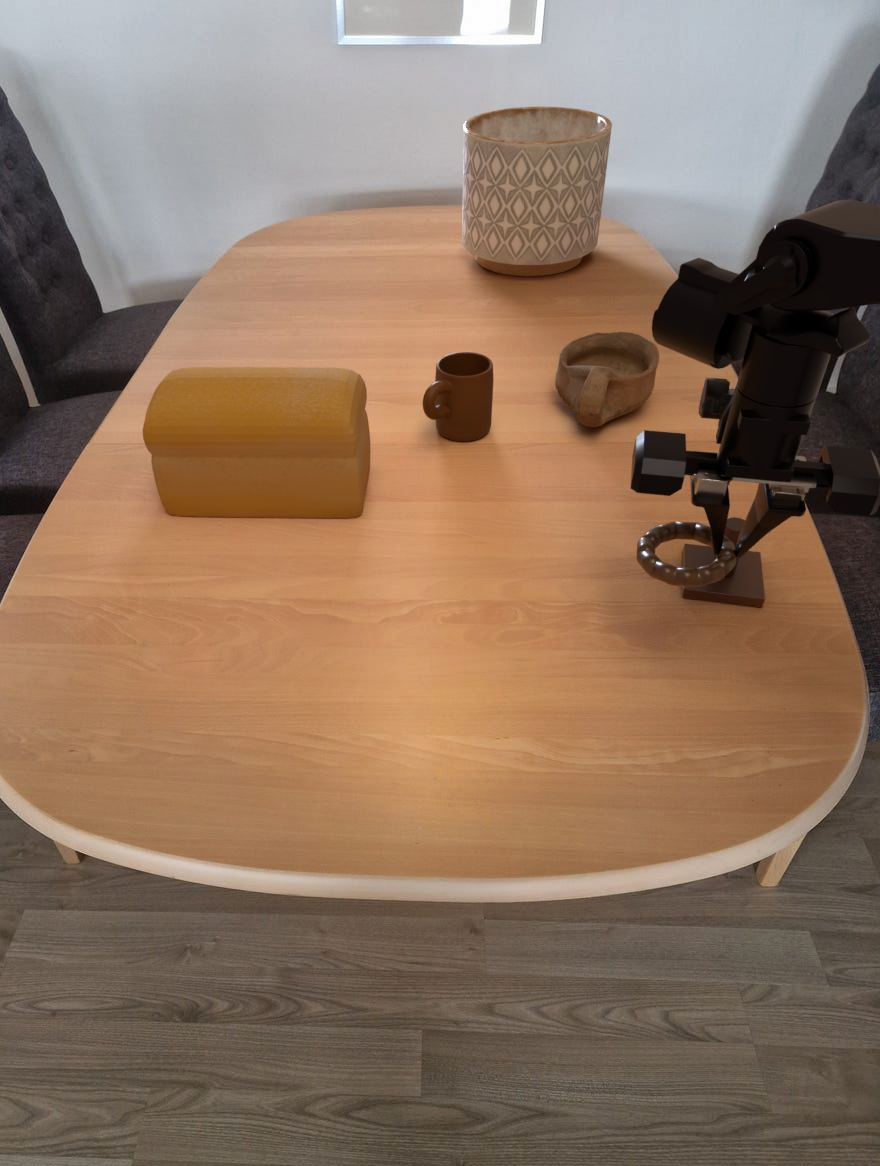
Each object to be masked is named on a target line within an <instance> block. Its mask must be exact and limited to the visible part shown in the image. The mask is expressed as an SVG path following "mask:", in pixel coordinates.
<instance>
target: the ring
mask: <svg viewBox="0 0 880 1166" xmlns="http://www.w3.org/2000/svg"><path fill="white" fill-rule="evenodd" d="M674 540H688V541H695V542H698V543H700V544H704V545H705V546H709V547H710V548H712V549H713V545H712V536H711V528H710V525H706V524H704V523H701V522H698V521H697V522H696V521H671V522H666V523H663V524H659V525H656V526H653V527H652V528H650V529H649V530H648V531H646V532H645V534H643V535H642V536H641V537H640V538H639V539H638V540H637V543H636V555H635V556H636V557H635V559H636V562H637V563H638V565H639V566H640V567H641V569H642V570H644V572H645V573H646V574H647V575H648V576H649V577H650V578H652V579H655V580H657V581H660V582H662V583H665V584H667V585H669V586H675V587H682V586H688V587H700V586H703V585H707V584H710V583H713V582H717V581H720V580H722V579H723V578H724V577H725V576H726V575H727V574H728V573H729V572H730V571H731V570H732V569H733V567H734V566H735V564H736V554H735V545H734V544H733V542H732V541H730V540H729V539H728V538H727V537H726V536H725V535H724V540H723V545H722V548H721V550H720V553H719V555H716V559H715V560H714V561H713V562H712V563H711V564H709V565H706V566H702V567H699V568H682V567H681V566H680V567H677V566H675V565H672V564H670V563H668V562H664V561H663V560H661V558H660V557H659V556H658V555H657V554H656V549H657V548H658V547H659V546H660V545H661V544H664V543H666V542H670V541H674Z"/></svg>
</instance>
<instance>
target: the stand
mask: <svg viewBox="0 0 880 1166" xmlns="http://www.w3.org/2000/svg"><path fill="white" fill-rule="evenodd" d="M745 520H746V519H744V518H741V517H734V516H733V517H728V518H727V524H726V529H725V536H726V537H727V538H728V539H729V540H730V541H732V542H733V544H734V545H735V548H736V544H737V541H738V537H739V534H740V532H741V529H742V527H743V525H744V522H745ZM681 554H682V555H681V558H682V559H681V565H682V566H681V568H699V567H702V566H706V565H709V564H711V563H712V562H713V561H714V560H715V559H716V555H714V554H713V549H712V548H710V547H709V546H708V545H701V544H692V543H684V544H683V548H682V552H681ZM681 597H682V598H683V599H691V600H699V601H705V602H706V601H707V602H714V603H720V604H721V603H723V604H730V605H737V606H745V607H746V606H747V607H753V608H760V609H762V608H763V607H764V603H765V600H766V594H765V584H764V575H763V563H762V555H761V552H760V551H753V550H748V551H747V552H746V553H745V554H744V555H743V556H742V557H741V558H736V564H735V566H734V567H733V569H732V570H731V571H730V572H729V573H728V574H727V575H726V576H725V577H724V578H723V579H722V580H720V581H717V582H713V583H710V584H707V585H703V586H700V587H688V586H681Z"/></svg>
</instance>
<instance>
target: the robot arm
mask: <svg viewBox="0 0 880 1166" xmlns="http://www.w3.org/2000/svg"><path fill="white" fill-rule="evenodd" d="M757 249H758V250H757V254H756V256H755V257H756V258H755V259H754V260H753V261H751V263H750V264H748V266H747V267H745V269H743V270H742V271H741V272H740V273H737V272H734V271H731V270H728V269H725V268H722V267H719V266H717V265H716V264H715V263H713V262H711V261H710V260H707V259H704V258H702V257H697V258H694V259H692V260H689V261H685V262H683V263H682V264H680V265H679V270H678V275H677V279H675V281H674V282H672V284H671V285H670V286H669V287H668V289H667V290H666V292H665V293H664V294H663V296H662V298H661V300H660V302H659V304H658V306H657V309H655V310H654V312H653V315H652V320H651V335H652V337H653V340H654V342H655V343H656V344H657V345H659V346H662V347H664V348H667V349H668V350H671V351H674V352H676V353H678V354H681V355H683V356H685V357H688V358H691V359H692V360H695V361H697V362H699V363H701V364H704V365H707V366H709V367H711V368H714V369H717V370H721V369H725V368H727V367H728V366H730V365H732V363H734V362H737V361H741V360H742V363H741V366H740V370H739V374H738V377H737V382H736V385H735V387H734V388H730V385H731V382H730V381H729V380H728V378H720V377H719V378H718V377H705V379H704V383H703V387H702V391H701V394H700V400H699V405H698V416H700V418H701V419H709V420H710V419H711V420H718V423H717V430H716V433H715V434H716V435H715V444H717V445H720V446H719V449H718V452H710V451H700V450H699V451H698V450H687V434H686V433H683V432H681V433H680V432H672V431H671V432H670V431H659V430H646V429H644V430H643V431H642V432H640V433H639V434H638V435H637V436H636V437H635V439H634V446H633V450H632V457H631V473H630V489H631V490H632V491H634V492H635V493H636V494H644V495H645V494H646V495H654V496H655V495H656V496H665V497H671V496H672V495H674V494H676V493H677V492H679V491H681V490H682V489H683V484H684V481H685V476H689V478H690V479H689V480H690V503H691V505H693V506H695V507H698V508H703V509H704V512H705V515H706V518H707V520H708V524H709V527H710V528H711V536H712V545H713V554H714V555H719V553H720V550H721V548H722V545H723V540H724V535H725V529H726V524H727V519H728V518H729V513H730V507H731V504H730V503H731V501H730V492H729V490H730V489H729V486H730V483H731V482H732V481H733V482H741V483H742V482H743V483H752V484H753V483H754V484H758V486H757V490H756V494H755V496H754V499H753V501H752V504H751V506H750V508H749V511H748V513H747V515H746V517H745V519H744V520H745V522H744V525H743V527H742V529H741V532H740V534H739V537H738V541H737V544H736V548H735V554H736V558H741V557H742V556H743V555H744V554H745V553H746V552H747V551H750V550H751V549H752V548H753V547H754V546H755V545H756V544H757V543H759V541H760V540H762V539H763V538H764V537H765V536H766V535H767V534H769V533H771V532H772V531H773V530H775V529H776V528H777V527H779V526H780V525H782V524H783V523H784V522H786V521H787V520H789V519H790V518H792V517H798V518H800V517H803V516H805V513H806V511H807V506H806V501H805V497H806V493H807V494H808V493H809V490H810V489H815V488H820V489H829V490H828V492H827V495H826V498H825V500H826V503H827V505H828V506H829V508H831V510H832V512H834V513H837V514H838V513H839V514H847V515H857V516H868V517H870V516H872V515H873V514H875V513H877V511H878V510H879V507H880V464H879V462H878V459H877V457H876V455H875V454H874V452H873V451H872V449H871V448H870V449H869V448H860V447H847V446H834V445H825V446H824V447H823V448H821V449H820V452H819V454H818V457H817V460H816V461H811V460H810V461H809V460H807V458H806V456H804V455H798V453H799V450H800V447H801V444H802V441H803V439H804V436H808V432H809V429H810V427H811V419H810V417H811V415H812V412H813V409H814V405H815V403H816V400H817V397H818V394H819V391H820V388H821V385H822V383H823V379H824V376H825V373H826V371H827V368H828V364H829V362H830V359H831V356H833V357H837V358H839V357H842V356H843V355H845V354H848V353H849V352H852V351H853V350H856V349H858V348H859V347H862V346H863V345H866V344H867V343H869V342H870V340H871V333H870V332H869V331H868V328H867V327H866V325H865V324H864V323H863V322H862V321H861V320H860V319H859V317H858V315H857V311H856V307H864V306H869V305H880V206H878V205H875V204H871V203H868V202H864V201H861V200H856V199H841V200H835V201H833V202H831V203H828V204H824V205H822V206H820V207H817V208H814V209H811V210H809V211H806V212H803V213H801V214H798V215H794V216H792V217H789V218H787V219H784V220H782V221H780V222H777V223H776V224H775V225H774V226H773V227H772V228H771V229H770V230H769V231H768V232H767V233H766V234H765V235H764V237H763V239H762V241H761V242H760V244H759V246H758V248H757ZM836 310H840V311H838V312H835V313H832V312H831V311H836Z"/></svg>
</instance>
